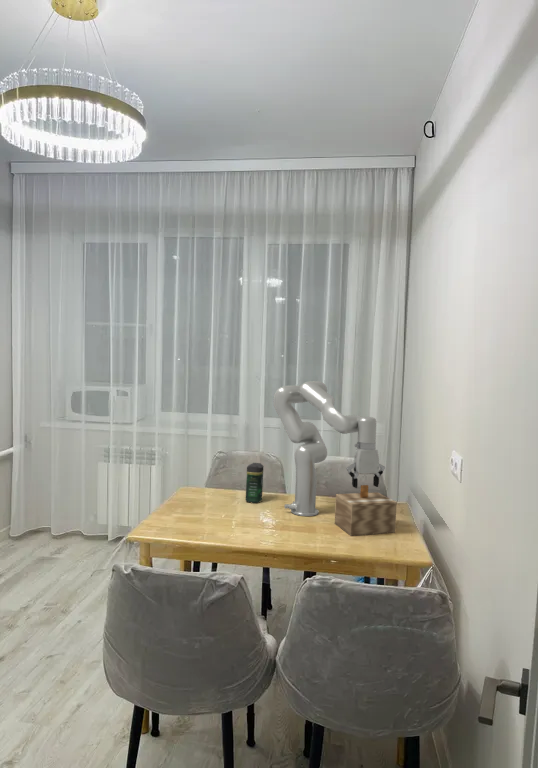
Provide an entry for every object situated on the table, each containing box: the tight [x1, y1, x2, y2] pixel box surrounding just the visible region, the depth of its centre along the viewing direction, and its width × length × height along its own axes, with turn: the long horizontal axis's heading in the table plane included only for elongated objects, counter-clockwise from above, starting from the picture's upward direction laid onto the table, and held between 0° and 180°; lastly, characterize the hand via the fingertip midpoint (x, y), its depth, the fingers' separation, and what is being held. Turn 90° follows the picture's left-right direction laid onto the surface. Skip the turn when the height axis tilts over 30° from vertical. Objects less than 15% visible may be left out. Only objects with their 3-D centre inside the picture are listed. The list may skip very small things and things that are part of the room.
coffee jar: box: [245, 462, 264, 504], centre depth 256 cm, size 10×8×19 cm
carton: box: [334, 495, 398, 537], centre depth 219 cm, size 20×16×13 cm
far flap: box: [335, 484, 387, 501], centre depth 223 cm, size 20×8×6 cm, turn 106°
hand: (365, 486), depth 220 cm, fingers open, 9 cm apart
